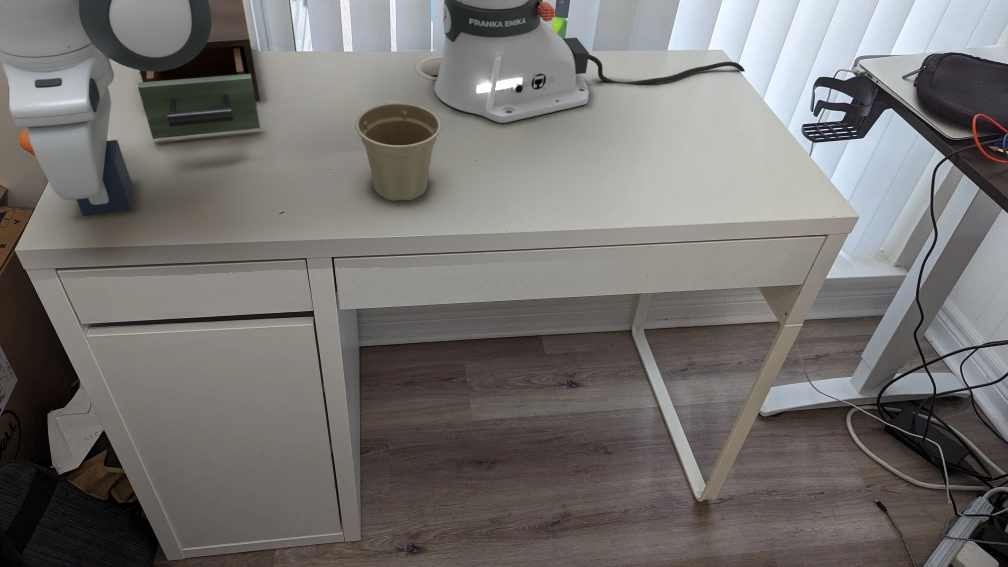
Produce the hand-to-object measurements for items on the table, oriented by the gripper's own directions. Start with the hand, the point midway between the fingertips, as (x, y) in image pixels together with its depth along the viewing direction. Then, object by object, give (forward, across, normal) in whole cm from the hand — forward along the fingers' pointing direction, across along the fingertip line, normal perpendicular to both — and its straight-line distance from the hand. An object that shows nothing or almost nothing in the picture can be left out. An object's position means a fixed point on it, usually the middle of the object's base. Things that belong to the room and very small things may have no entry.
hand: (102, 184), depth 79 cm
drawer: (+1, -15, +11) cm, 19 cm away
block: (+2, 0, 0) cm, 2 cm away
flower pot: (+2, +5, +32) cm, 32 cm away
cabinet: (+2, -27, +11) cm, 30 cm away
